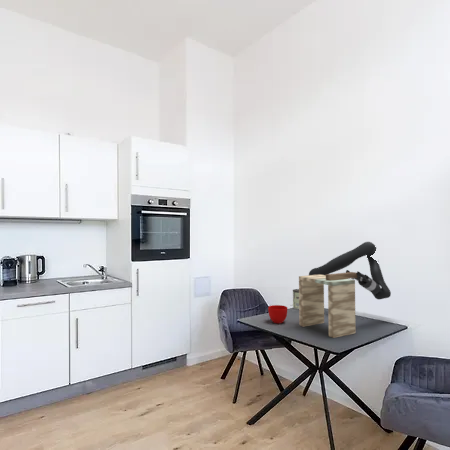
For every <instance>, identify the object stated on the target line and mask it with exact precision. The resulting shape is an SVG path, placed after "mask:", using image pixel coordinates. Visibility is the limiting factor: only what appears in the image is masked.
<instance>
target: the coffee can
mask: <svg viewBox="0 0 450 450" xmlns="http://www.w3.org/2000/svg"><path fill="white" fill-rule="evenodd" d="M292 308H293V309H294V310H299V288H296V289H294V288H293V289H292Z"/></svg>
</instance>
